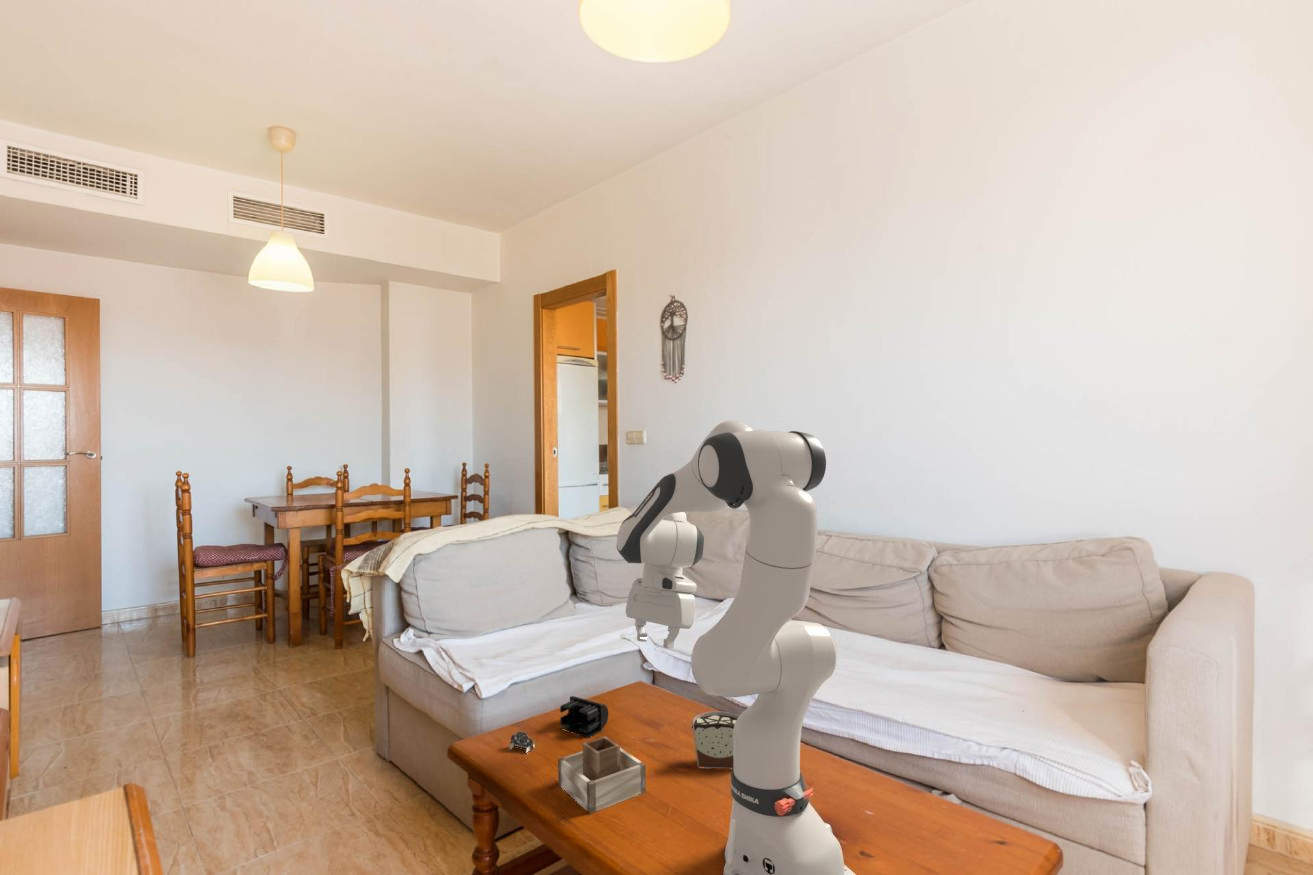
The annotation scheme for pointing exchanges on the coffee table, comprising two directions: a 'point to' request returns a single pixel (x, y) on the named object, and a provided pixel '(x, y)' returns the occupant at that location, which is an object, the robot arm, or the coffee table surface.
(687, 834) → the coffee table surface
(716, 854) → the coffee table surface
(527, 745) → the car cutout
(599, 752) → the small crate
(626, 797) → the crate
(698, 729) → the food container
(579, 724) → the end cap
